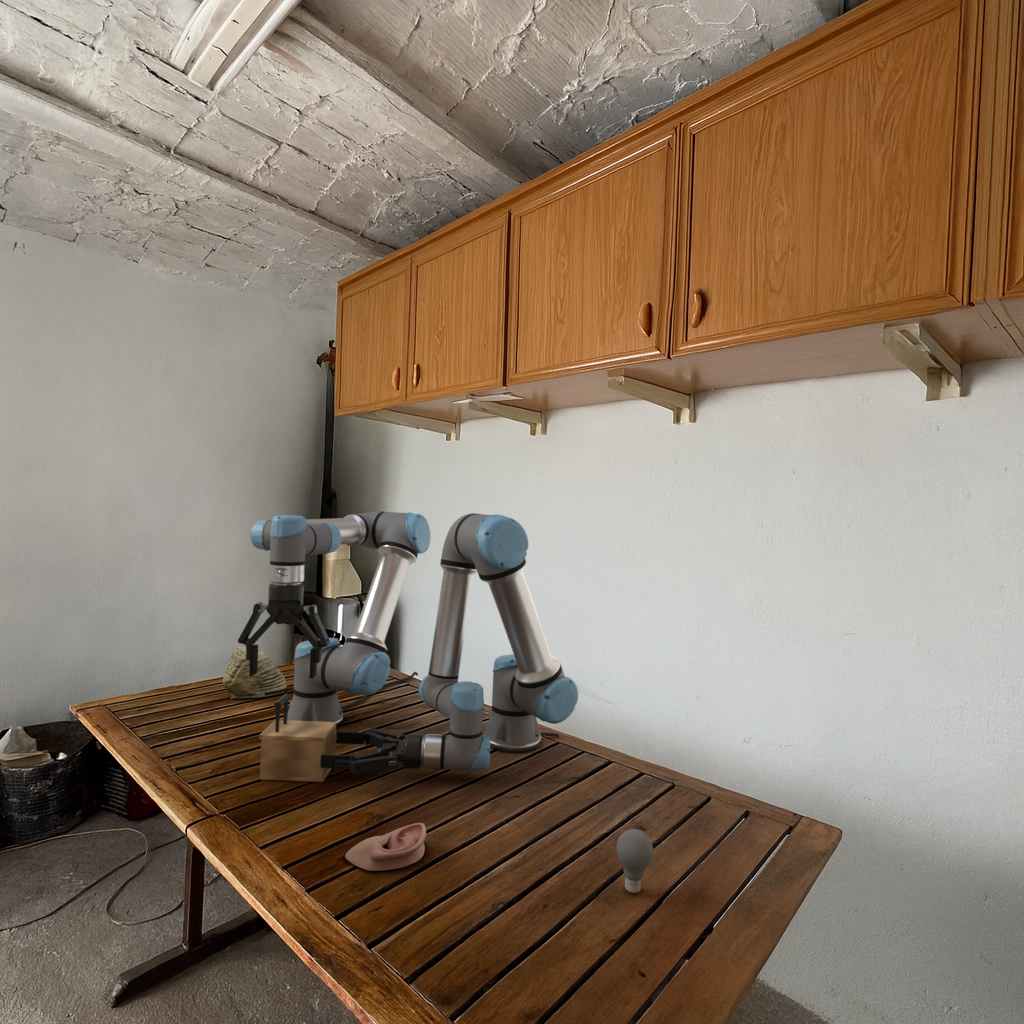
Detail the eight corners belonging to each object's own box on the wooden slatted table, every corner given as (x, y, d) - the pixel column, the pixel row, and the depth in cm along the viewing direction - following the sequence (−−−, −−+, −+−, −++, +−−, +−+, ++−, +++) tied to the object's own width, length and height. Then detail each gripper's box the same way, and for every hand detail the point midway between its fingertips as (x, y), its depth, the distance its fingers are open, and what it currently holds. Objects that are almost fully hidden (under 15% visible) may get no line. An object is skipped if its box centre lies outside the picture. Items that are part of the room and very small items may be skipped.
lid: (258, 739, 140) (260, 704, 140) (274, 723, 150) (276, 690, 150) (324, 741, 140) (325, 706, 140) (336, 725, 150) (337, 693, 150)
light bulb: (610, 879, 108) (613, 822, 108) (644, 879, 109) (647, 822, 109) (619, 902, 102) (622, 840, 102) (655, 901, 103) (658, 840, 103)
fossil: (218, 695, 195) (220, 647, 195) (278, 685, 208) (279, 640, 207) (228, 703, 189) (230, 653, 188) (289, 692, 201) (290, 645, 201)
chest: (259, 779, 140) (261, 739, 140) (275, 761, 150) (277, 723, 150) (323, 782, 141) (324, 741, 140) (334, 763, 150) (336, 726, 150)
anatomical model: (337, 842, 109) (366, 811, 120) (336, 865, 109) (365, 832, 120) (410, 854, 106) (432, 821, 117) (409, 878, 106) (432, 842, 118)
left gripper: (224, 582, 141) (221, 677, 141) (336, 587, 141) (333, 682, 141) (238, 578, 148) (235, 668, 148) (345, 583, 148) (341, 673, 149)
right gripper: (415, 793, 132) (312, 789, 132) (427, 746, 157) (341, 743, 157) (416, 757, 132) (314, 754, 132) (429, 716, 157) (343, 713, 157)
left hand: (283, 675), depth 145 cm, fingers open, 13 cm apart
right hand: (329, 748), depth 144 cm, fingers open, 13 cm apart
